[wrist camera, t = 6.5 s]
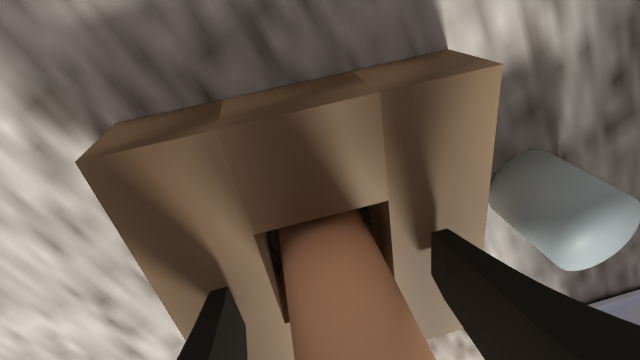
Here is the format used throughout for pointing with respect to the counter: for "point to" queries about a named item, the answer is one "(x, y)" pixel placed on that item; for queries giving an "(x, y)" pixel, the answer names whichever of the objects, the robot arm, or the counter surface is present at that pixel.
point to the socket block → (303, 183)
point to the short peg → (563, 209)
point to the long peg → (345, 294)
